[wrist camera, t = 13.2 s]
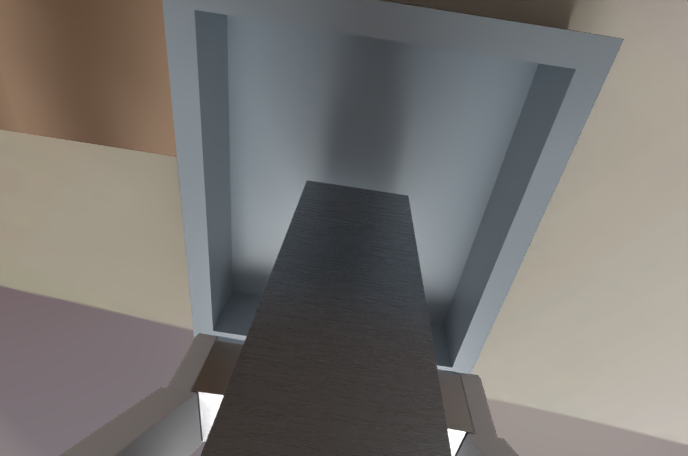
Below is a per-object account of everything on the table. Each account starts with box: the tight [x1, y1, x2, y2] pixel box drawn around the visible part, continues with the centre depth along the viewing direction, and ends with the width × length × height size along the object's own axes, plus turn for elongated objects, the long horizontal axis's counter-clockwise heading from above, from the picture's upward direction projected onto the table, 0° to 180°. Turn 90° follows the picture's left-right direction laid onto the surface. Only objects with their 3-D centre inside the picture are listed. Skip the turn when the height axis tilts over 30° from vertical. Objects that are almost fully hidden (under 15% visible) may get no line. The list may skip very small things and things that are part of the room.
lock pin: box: [201, 180, 452, 456], centre depth 10 cm, size 4×4×14 cm
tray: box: [162, 0, 624, 374], centre depth 17 cm, size 14×16×4 cm
